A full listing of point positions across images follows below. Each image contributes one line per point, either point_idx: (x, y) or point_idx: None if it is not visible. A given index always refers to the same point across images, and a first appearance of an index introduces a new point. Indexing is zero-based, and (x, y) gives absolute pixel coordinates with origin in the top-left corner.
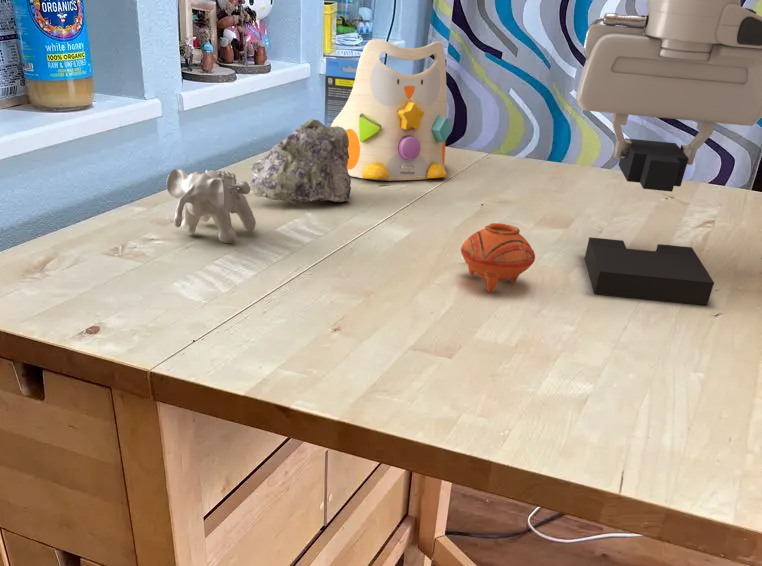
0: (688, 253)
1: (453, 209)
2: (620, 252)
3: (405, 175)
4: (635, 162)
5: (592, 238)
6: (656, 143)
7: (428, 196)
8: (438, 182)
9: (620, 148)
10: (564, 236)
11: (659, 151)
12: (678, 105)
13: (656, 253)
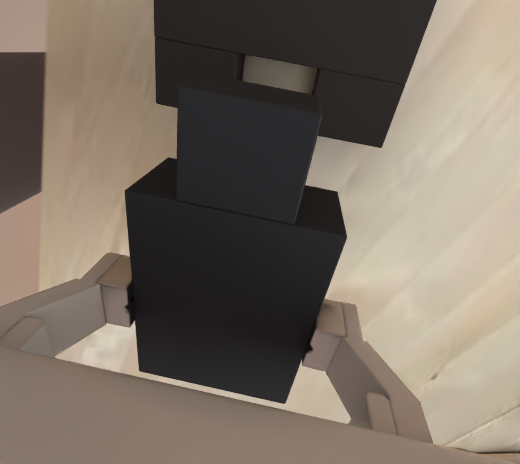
0: (173, 49)
1: (499, 361)
2: (352, 27)
3: (510, 460)
4: (330, 216)
5: (378, 138)
6: (201, 363)
7: (507, 406)
8: (452, 446)
9: (350, 320)
10: (357, 255)
11: (222, 274)
12: (113, 443)
13: (254, 36)
